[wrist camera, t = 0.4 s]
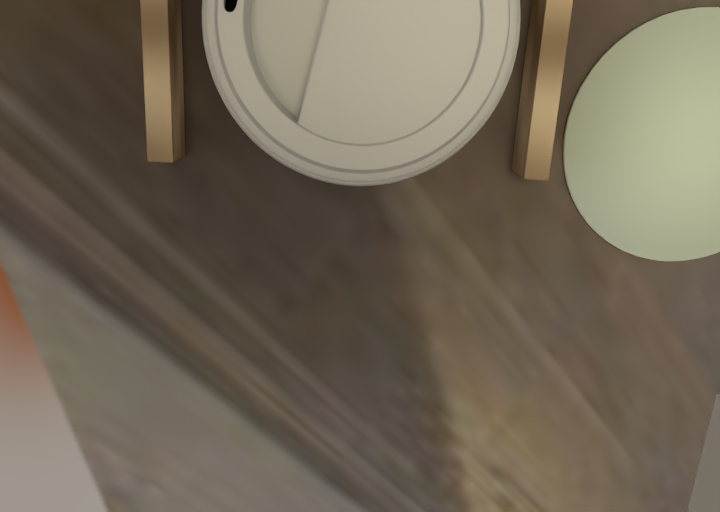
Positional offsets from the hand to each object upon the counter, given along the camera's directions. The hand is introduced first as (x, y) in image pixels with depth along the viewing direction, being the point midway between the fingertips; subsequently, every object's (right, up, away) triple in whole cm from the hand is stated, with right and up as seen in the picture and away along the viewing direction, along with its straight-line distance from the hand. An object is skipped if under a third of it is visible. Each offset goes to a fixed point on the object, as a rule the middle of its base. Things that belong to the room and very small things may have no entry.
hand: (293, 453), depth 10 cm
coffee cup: (+1, +14, +22) cm, 26 cm away
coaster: (+18, +9, +23) cm, 31 cm away
